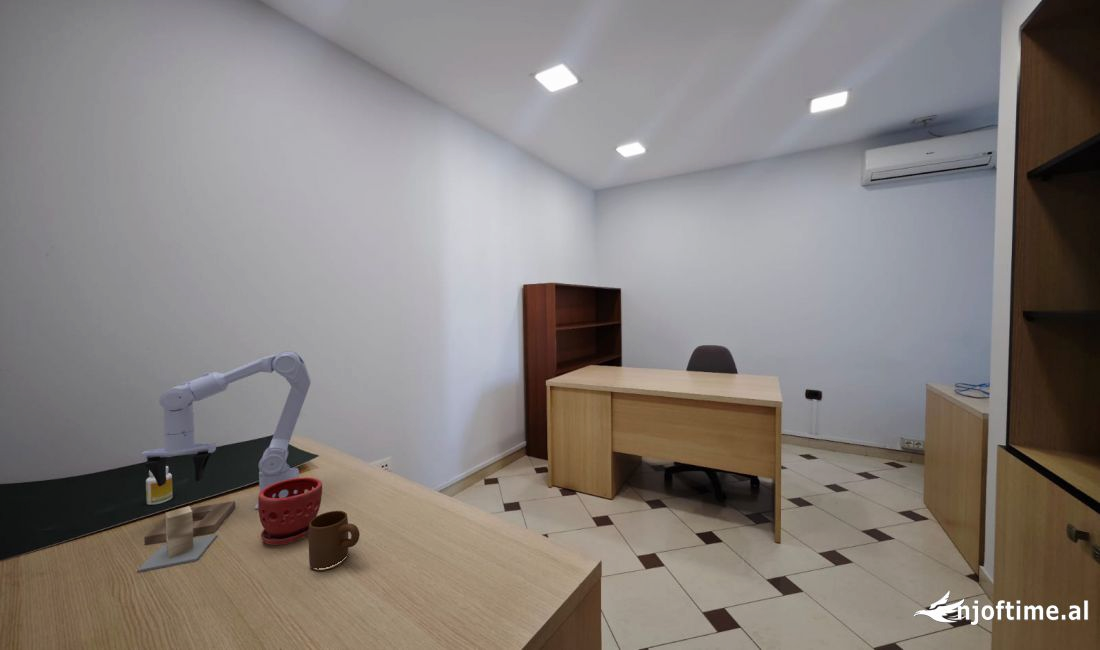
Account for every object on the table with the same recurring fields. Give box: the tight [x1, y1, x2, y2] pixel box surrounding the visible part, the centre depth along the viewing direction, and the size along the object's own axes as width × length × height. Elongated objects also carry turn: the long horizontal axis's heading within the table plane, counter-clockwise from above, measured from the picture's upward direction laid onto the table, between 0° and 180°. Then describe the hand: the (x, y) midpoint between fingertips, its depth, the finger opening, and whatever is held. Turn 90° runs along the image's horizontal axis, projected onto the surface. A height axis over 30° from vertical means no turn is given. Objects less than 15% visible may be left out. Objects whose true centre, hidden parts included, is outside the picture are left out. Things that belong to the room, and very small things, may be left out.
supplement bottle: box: [145, 465, 174, 506], centre depth 111 cm, size 5×5×10 cm
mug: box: [307, 510, 360, 569], centre depth 83 cm, size 12×8×9 cm, turn 73°
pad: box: [136, 534, 218, 573], centre depth 86 cm, size 10×10×1 cm
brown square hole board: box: [143, 500, 236, 546], centre depth 98 cm, size 13×13×2 cm
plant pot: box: [257, 477, 323, 546], centre depth 94 cm, size 13×13×12 cm
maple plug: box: [165, 505, 194, 558], centre depth 86 cm, size 4×4×9 cm
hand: (180, 482), depth 100 cm, fingers open, 7 cm apart
